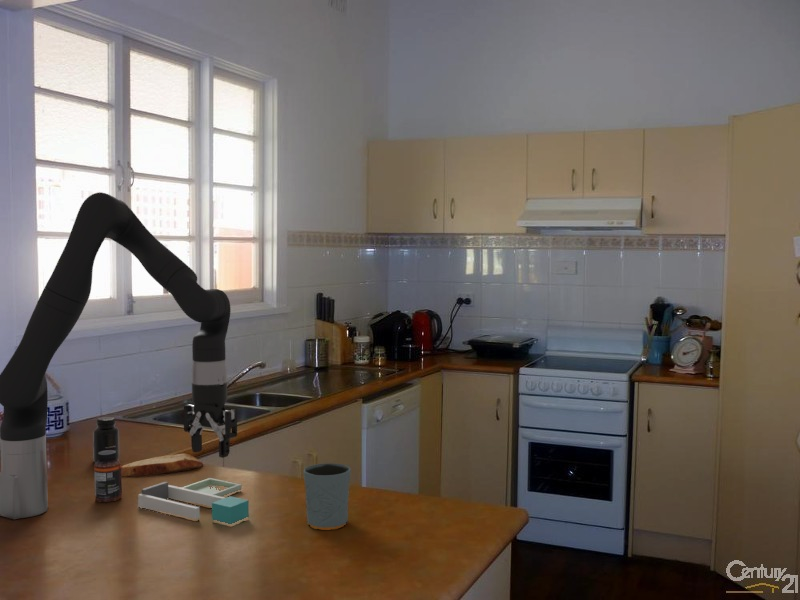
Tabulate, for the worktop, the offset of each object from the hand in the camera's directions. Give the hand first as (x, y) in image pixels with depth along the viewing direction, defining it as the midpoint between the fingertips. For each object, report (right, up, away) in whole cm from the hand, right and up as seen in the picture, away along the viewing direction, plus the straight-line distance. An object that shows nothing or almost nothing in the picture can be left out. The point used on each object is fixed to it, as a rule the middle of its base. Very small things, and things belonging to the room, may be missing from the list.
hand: (210, 454), depth 174 cm
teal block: (+5, -14, -2) cm, 15 cm away
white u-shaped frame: (-8, -14, +6) cm, 17 cm away
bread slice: (-22, -12, +38) cm, 46 cm away
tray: (-4, -13, +17) cm, 22 cm away
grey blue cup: (+26, -14, -3) cm, 30 cm away
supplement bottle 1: (-40, -11, +47) cm, 63 cm away
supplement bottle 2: (-27, -13, +13) cm, 33 cm away
